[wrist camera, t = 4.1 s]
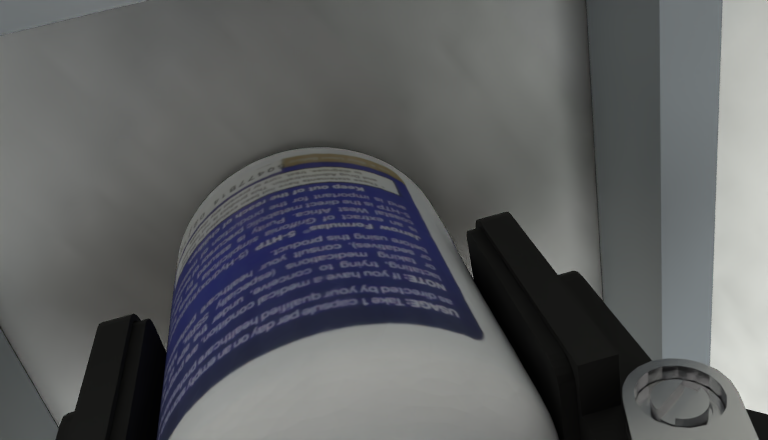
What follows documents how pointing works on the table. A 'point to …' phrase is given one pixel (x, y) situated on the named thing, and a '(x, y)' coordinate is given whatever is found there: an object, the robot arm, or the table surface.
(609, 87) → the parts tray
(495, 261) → the robot arm
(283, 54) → the table surface
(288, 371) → the pill bottle
